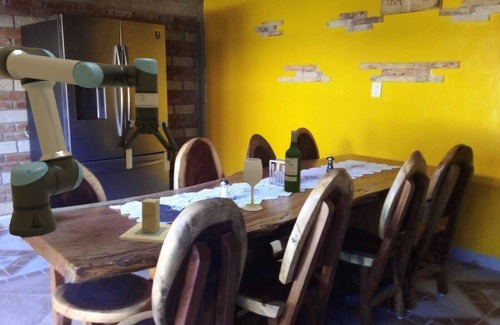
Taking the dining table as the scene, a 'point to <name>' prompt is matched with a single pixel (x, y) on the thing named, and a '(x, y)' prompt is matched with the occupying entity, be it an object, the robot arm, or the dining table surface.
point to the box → (150, 215)
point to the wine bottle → (292, 166)
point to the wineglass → (252, 179)
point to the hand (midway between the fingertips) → (148, 169)
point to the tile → (145, 234)
